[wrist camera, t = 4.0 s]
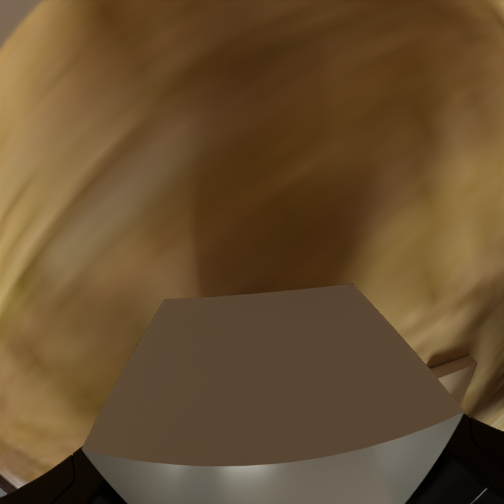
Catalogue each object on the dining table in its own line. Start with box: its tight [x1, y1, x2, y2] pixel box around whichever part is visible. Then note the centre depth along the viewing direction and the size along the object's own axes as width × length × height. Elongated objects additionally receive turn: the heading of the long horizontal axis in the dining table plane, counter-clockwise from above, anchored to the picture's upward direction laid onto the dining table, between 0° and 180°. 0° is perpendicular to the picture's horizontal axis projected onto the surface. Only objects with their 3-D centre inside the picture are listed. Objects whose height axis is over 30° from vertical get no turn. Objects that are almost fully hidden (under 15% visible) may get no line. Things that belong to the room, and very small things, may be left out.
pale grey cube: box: [82, 283, 464, 504], centre depth 6 cm, size 5×5×5 cm
